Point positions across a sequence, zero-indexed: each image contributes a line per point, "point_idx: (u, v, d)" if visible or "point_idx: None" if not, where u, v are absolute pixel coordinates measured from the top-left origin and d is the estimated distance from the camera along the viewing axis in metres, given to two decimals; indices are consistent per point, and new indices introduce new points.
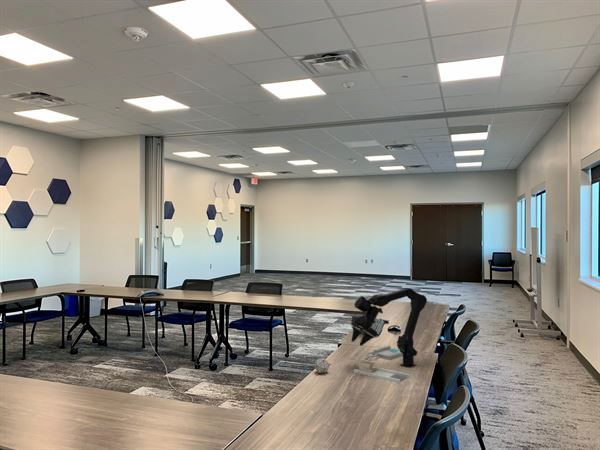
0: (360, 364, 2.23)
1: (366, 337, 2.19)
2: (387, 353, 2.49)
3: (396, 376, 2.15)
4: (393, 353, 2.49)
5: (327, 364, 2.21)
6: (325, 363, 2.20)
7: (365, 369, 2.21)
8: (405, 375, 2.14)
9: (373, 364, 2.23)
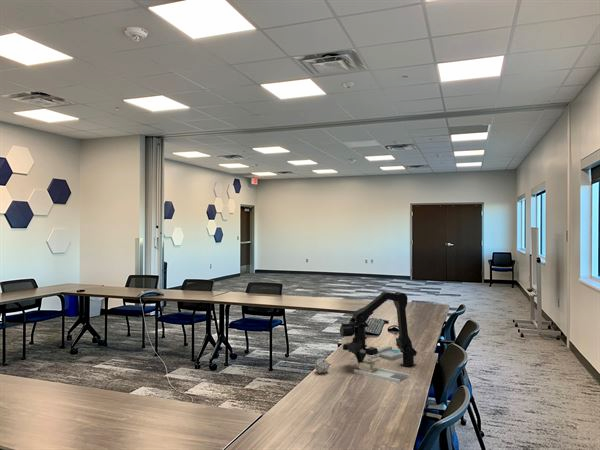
0: (360, 364, 2.23)
1: (362, 356, 2.26)
2: (389, 354, 2.48)
3: (396, 376, 2.15)
4: (395, 354, 2.48)
5: (327, 364, 2.21)
6: (325, 363, 2.20)
7: (365, 369, 2.21)
8: (405, 375, 2.14)
9: (373, 364, 2.23)
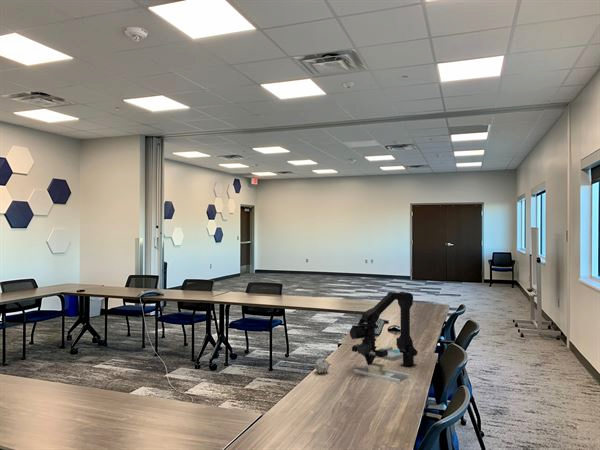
0: (369, 366, 2.19)
1: (372, 357, 2.22)
2: (390, 354, 2.47)
3: (396, 376, 2.15)
4: (396, 354, 2.47)
5: (327, 364, 2.21)
6: (325, 363, 2.20)
7: (374, 372, 2.17)
8: (405, 375, 2.14)
9: (383, 367, 2.19)
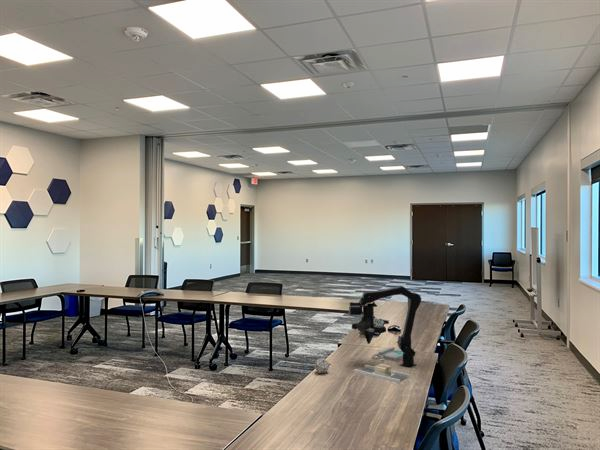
0: (376, 368, 2.16)
1: (371, 334, 2.33)
2: (393, 355, 2.46)
3: (396, 376, 2.15)
4: (399, 354, 2.46)
5: (327, 364, 2.21)
6: (325, 363, 2.20)
7: (381, 373, 2.14)
8: (405, 375, 2.14)
9: (389, 368, 2.16)
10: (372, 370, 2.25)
